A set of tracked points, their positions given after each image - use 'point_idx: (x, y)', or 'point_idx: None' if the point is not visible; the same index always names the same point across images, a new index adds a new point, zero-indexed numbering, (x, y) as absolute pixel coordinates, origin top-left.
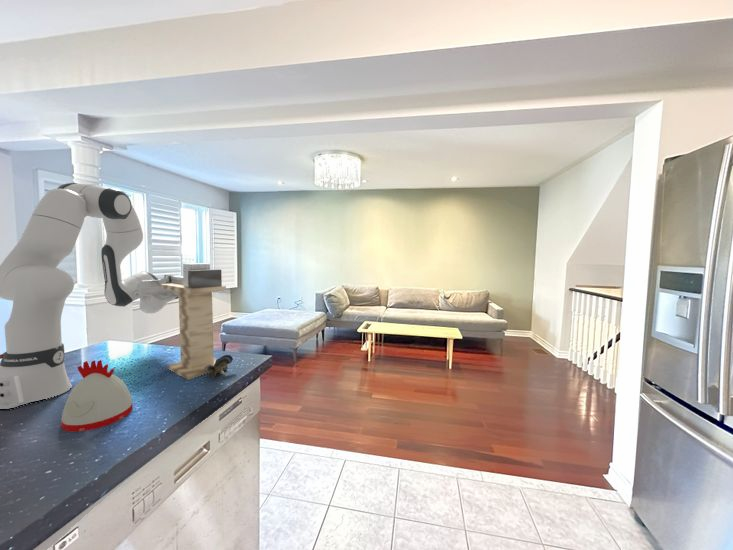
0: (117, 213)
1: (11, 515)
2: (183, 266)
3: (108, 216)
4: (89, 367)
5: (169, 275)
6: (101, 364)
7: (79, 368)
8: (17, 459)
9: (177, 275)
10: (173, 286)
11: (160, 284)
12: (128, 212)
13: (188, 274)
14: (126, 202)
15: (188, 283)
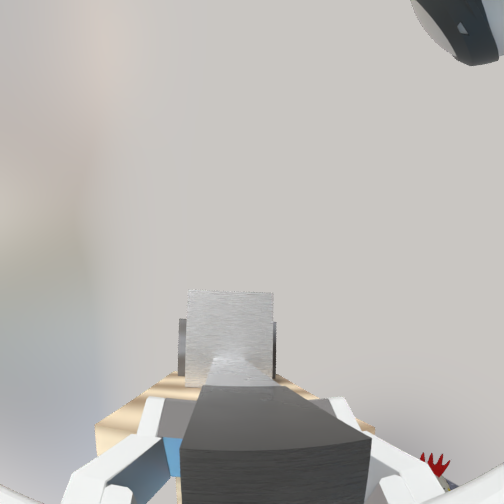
0: (458, 58)
1: None
2: (272, 305)
3: (489, 60)
4: (436, 464)
5: (288, 399)
6: (420, 459)
7: (447, 462)
8: (449, 485)
9: (204, 387)
10: (308, 392)
11: (373, 429)
12: (432, 18)
13: (275, 335)
14: (419, 21)
15: (275, 364)
